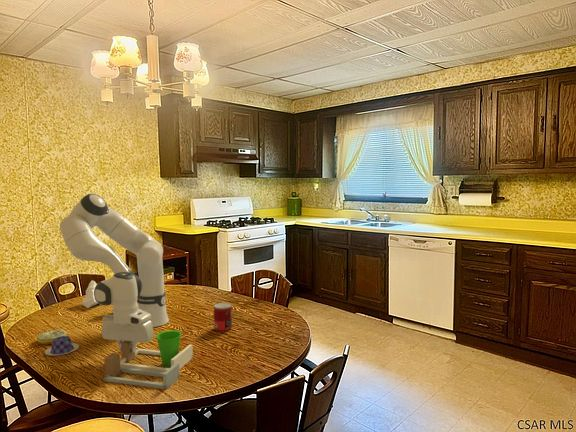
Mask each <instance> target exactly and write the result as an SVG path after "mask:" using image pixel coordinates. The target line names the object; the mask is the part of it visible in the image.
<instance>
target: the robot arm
mask: <svg viewBox="0 0 576 432" xmlns="http://www.w3.org/2000/svg"><path fill="white" fill-rule="evenodd" d="M94 227H97V228H99V229H100V230H101V232H103V233H104V235H106V236H108V237H109V238H110V239H111V240H112V241H114V242H115V243H116V244H118V245H119V246H120V247H121V248H124V249H126V250H127V251H129V252H130V253H132V254H134V255H136V263H137V272H138V275H137V274H136V273H135V272H133V271H132V270H131V268H130V267H129V266H128V265H127V264H126V262H125V261H124V260H123V259H122V257H121V256H120V255H119V254H118V253H117V251H116V250H115V249H114V248H113V247H112V246H110V245H108V244H106V243H105V242H103V240H101V239H100V238H99V237H98V236H97V235H96V234H95V232H94V231H93V228H94ZM59 230H60V233H61V236H62V239H63V241H64V243H65V245H66V247H67V249H68V251H69V252H70V254H71V255H72V256H73V257H74V258H76V259H78V260H81V261H84V262H85V261H88V262H96V263H101V264H104V265H106V266H107V267H109V269H110V270H111V272H113V273H114V274H113V275H112V277H110V278H108V279H104V280H102V281H100V282H98V283H96V284H97V285H96V287H95V289H94V297H95V300H96V301H97V302H98V303H99V304H98V305H100V306H112V313H113V314H110V313H107V314H105V315H104V316H103V317H102V325H101V326H102V327H101V336H102V338H103V339H104V340H110V341H111V340H112V341H116V345H118V347H119V351H120V352H121V342H123V341H132V344H133V347H131V348H130V352H136V349H137V347H138V344H139V343H143V344H144V343H145V344H147V343H149V342H151V341H152V340H153V338H154V328H157V327H161V326H164V325H166V324H167V323H169V322H170V319H169V316H168V311H167V306H166V291H165V278H164V277H165V275H164V265H163V264H164V263H163V262H164V261H163V254H164V247H163V245H162V243H160V242H159V241H158V240H156V239H155V238H153V237H152V236H151V235H150V234H148V233H146V232H144V231H143V230H142V229H140V228H139V227H137V225H136V224H134V223H133V222H131V221H130V220H129V219H127V218H126V217H125V216H124V215H122V214H121V213H119V212H118V211H117V210H115V209H113V208H111V207H109V205H108V204H107V202H106V201H105V199H104V198H103V197H102V196H100V195H98V194H96V193H88V194H86V195H84V196H83V197H82V198H81V199H80V201H78V202H77V204H75V206H74V207H73V208H72V209H71V212H70V213H69V214H68V215H67V216H66V217H64V218H63V219H62V220H61V221H60V224H59Z"/></svg>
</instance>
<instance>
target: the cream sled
mask: <svg viewBox="0 0 576 432" xmlns="http://www.w3.org/2000/svg"><path fill="white" fill-rule="evenodd" d="M131 347H133V344H132V341H122V342H121V351H120V352H121V353H120V354H121V355H120V356H121V357H120V367H126V368H134V369H142V370H150V371H158V372H166V371H167V370H168V369H169V368H171V367H172V366H173V365H174V364H175V363H179V370H181V369H182V368H183V367H184V366H185V365H187V363H189V362H190V361H192V359H193V358H194V352H193V350H194V347H193V344H189V345H187V346H186V347H185V348H184V349H182V350H181V351H180V352H179V353H178V354H177V355H176V356H175V357H174V358H172V359H171V367H164V366H163V367H160V366H153V365H145V364H137V363H127V362H131V361H132V360H133V359H134V358H136V356H137V355H138V354H145V355H154V356H161V355H160V350H156V349H147V348H146V349H145V348H136V352H130V348H131Z"/></svg>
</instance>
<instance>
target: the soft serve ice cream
mask: <svg viewBox="0 0 576 432" xmlns="http://www.w3.org/2000/svg"><path fill="white" fill-rule="evenodd" d="M97 284H98V283H96V281H95V280H93V279H92V280H91V281H90V282H89V283H88V286H87V288H86V290H85V298H84V299H83V300H82V301H81V304H82V306H84V307H85V308H87V309H90V308H92V307H94V306H96V305H100V304H99V303H98V302H97V301H96V300H95V297H94V289H95V287H96V285H97Z"/></svg>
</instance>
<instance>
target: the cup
mask: <svg viewBox="0 0 576 432" xmlns="http://www.w3.org/2000/svg"><path fill="white" fill-rule="evenodd" d="M182 335H183V334H182V332H181V331H180V330H170V329H169V330H164V331H161V332H159V333H158V334H156V335H155V339H156V340H157V344H158V349H159V350H158V351H160V355H159V356H160V359H161V363H162V365H163V367H164V368H171V359H172V358H174V357H175V356H176V355H177V354H178V353H180V352H179V351H180V344H181V336H182Z"/></svg>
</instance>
